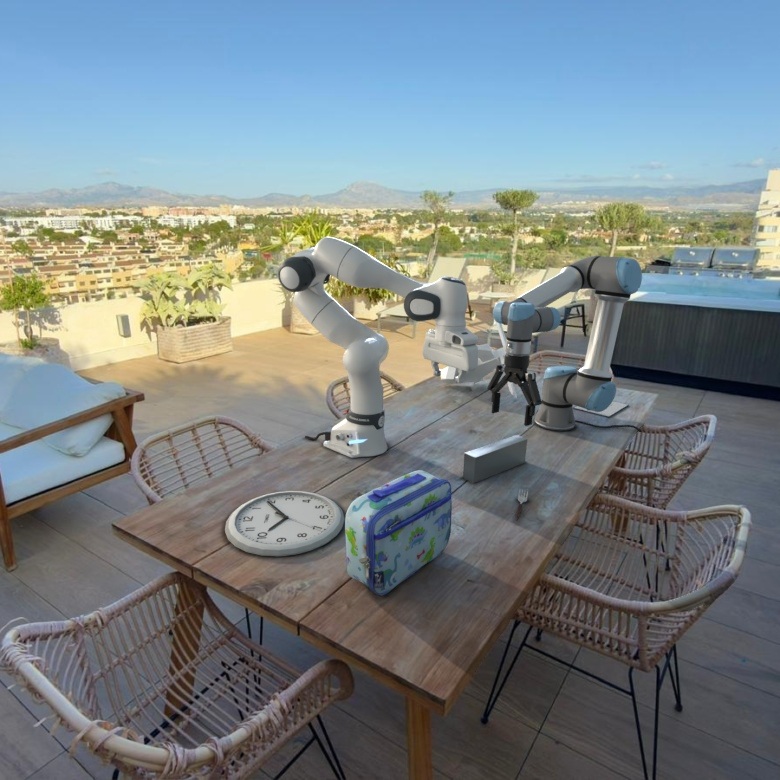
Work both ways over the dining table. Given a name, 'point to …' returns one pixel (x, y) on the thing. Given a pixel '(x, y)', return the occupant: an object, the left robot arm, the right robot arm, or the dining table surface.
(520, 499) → the fork
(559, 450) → the dining table surface
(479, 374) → the white plastic object
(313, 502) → the wall clock
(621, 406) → the invitation card
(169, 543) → the dining table surface
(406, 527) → the lunch box
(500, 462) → the bar
